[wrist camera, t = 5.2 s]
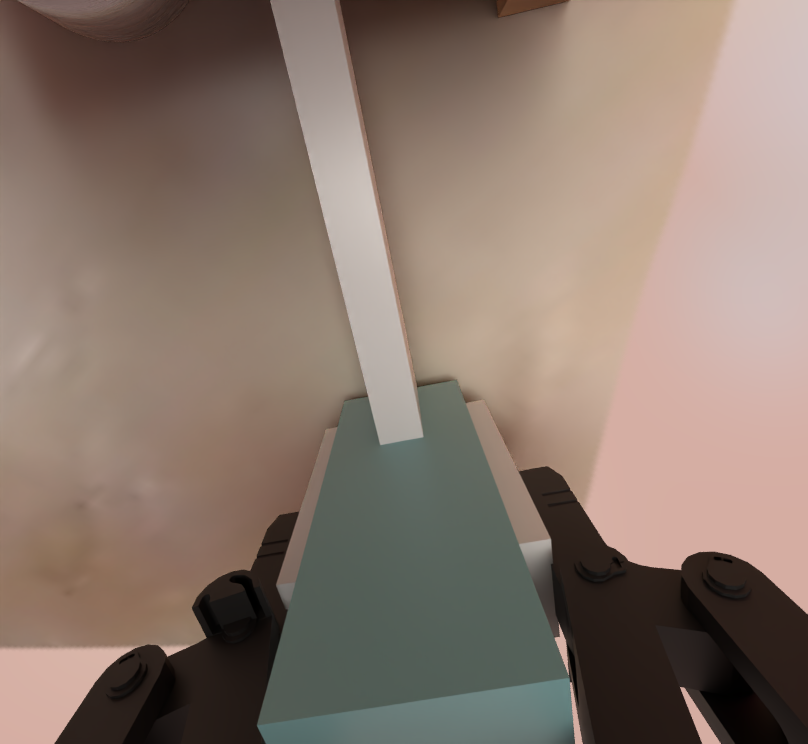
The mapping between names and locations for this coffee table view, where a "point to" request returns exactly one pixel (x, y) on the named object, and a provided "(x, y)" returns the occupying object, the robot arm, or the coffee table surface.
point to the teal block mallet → (398, 502)
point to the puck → (110, 16)
